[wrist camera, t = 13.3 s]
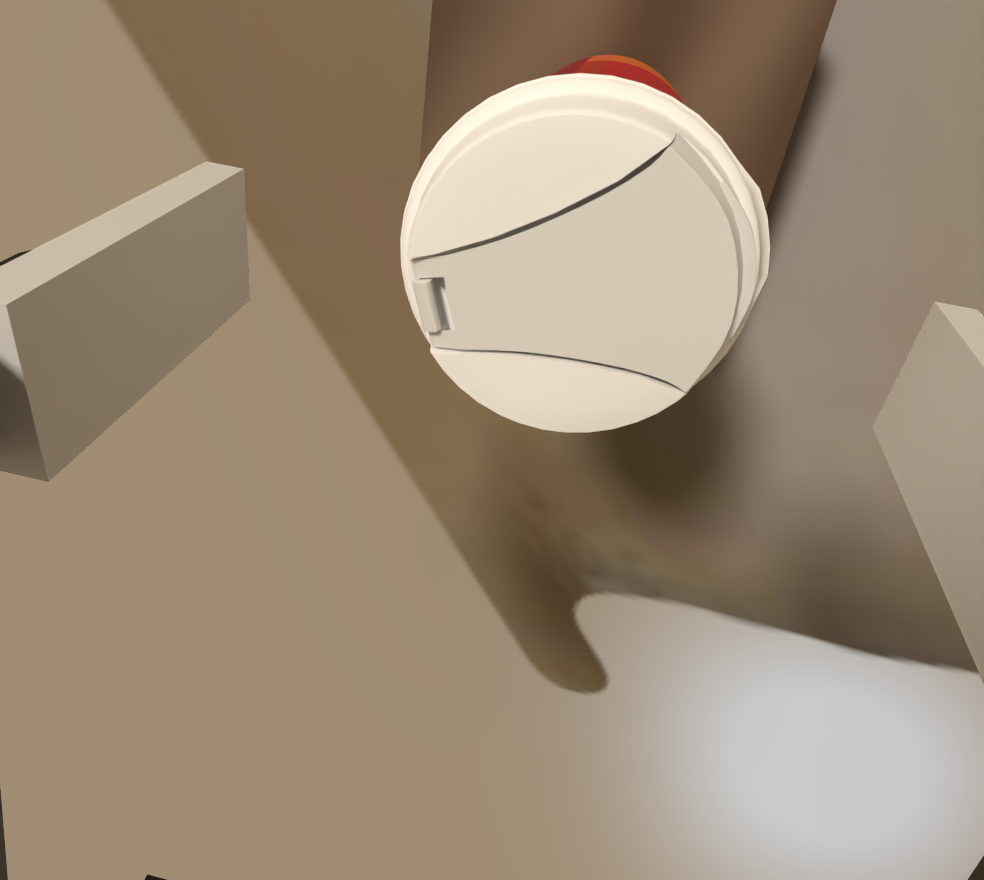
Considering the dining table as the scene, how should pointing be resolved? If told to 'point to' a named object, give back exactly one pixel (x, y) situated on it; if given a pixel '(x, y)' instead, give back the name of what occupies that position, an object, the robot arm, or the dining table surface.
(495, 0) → the podium
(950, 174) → the dining table surface
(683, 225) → the paper cup
